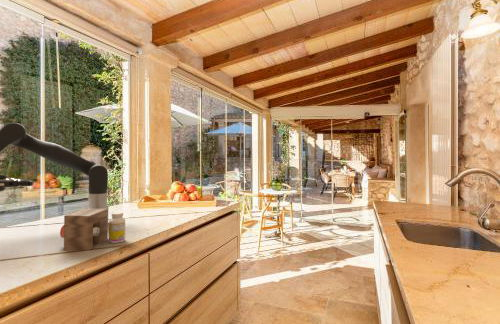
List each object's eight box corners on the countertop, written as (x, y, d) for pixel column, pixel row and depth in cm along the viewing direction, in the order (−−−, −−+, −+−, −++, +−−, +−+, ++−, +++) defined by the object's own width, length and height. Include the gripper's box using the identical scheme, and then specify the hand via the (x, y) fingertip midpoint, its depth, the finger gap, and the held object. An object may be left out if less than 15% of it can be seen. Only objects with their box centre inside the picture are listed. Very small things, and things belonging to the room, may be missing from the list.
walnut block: (60, 249, 114) (60, 215, 114) (82, 238, 130) (82, 208, 130) (88, 250, 115) (89, 216, 114) (107, 238, 131) (108, 208, 130)
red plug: (60, 239, 117) (60, 226, 117) (68, 235, 123) (68, 223, 123) (94, 240, 118) (94, 226, 118) (100, 236, 123) (100, 223, 123)
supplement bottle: (112, 239, 131) (112, 211, 130) (127, 239, 131) (127, 211, 131) (106, 243, 124) (106, 214, 124) (121, 243, 124) (122, 214, 124)
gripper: (-24, 175, 115) (19, 176, 116) (3, 173, 129) (42, 173, 129) (-24, 193, 116) (19, 194, 116) (3, 189, 129) (42, 190, 129)
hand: (31, 183), depth 123 cm, fingers closed
